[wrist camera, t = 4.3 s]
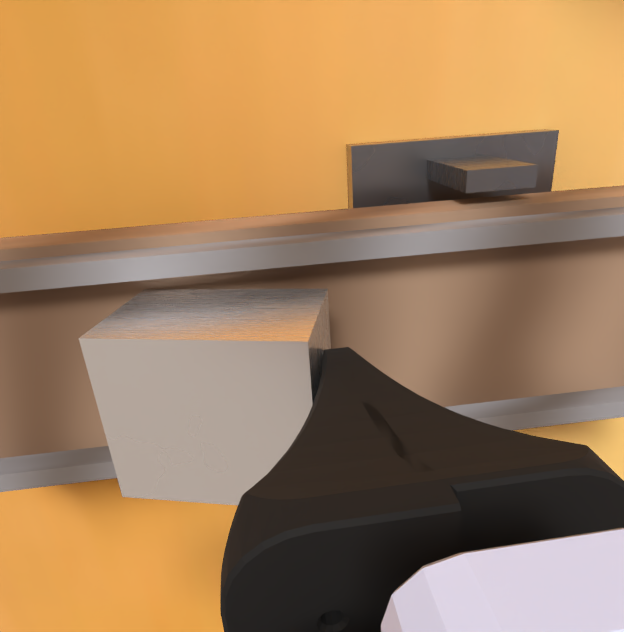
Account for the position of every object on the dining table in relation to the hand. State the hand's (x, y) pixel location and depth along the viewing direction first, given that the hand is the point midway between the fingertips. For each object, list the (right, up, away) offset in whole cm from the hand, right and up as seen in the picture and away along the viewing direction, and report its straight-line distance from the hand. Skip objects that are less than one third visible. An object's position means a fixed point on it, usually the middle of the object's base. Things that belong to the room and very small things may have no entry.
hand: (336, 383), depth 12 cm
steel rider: (-3, 0, +1) cm, 3 cm away
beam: (0, +1, +3) cm, 4 cm away
